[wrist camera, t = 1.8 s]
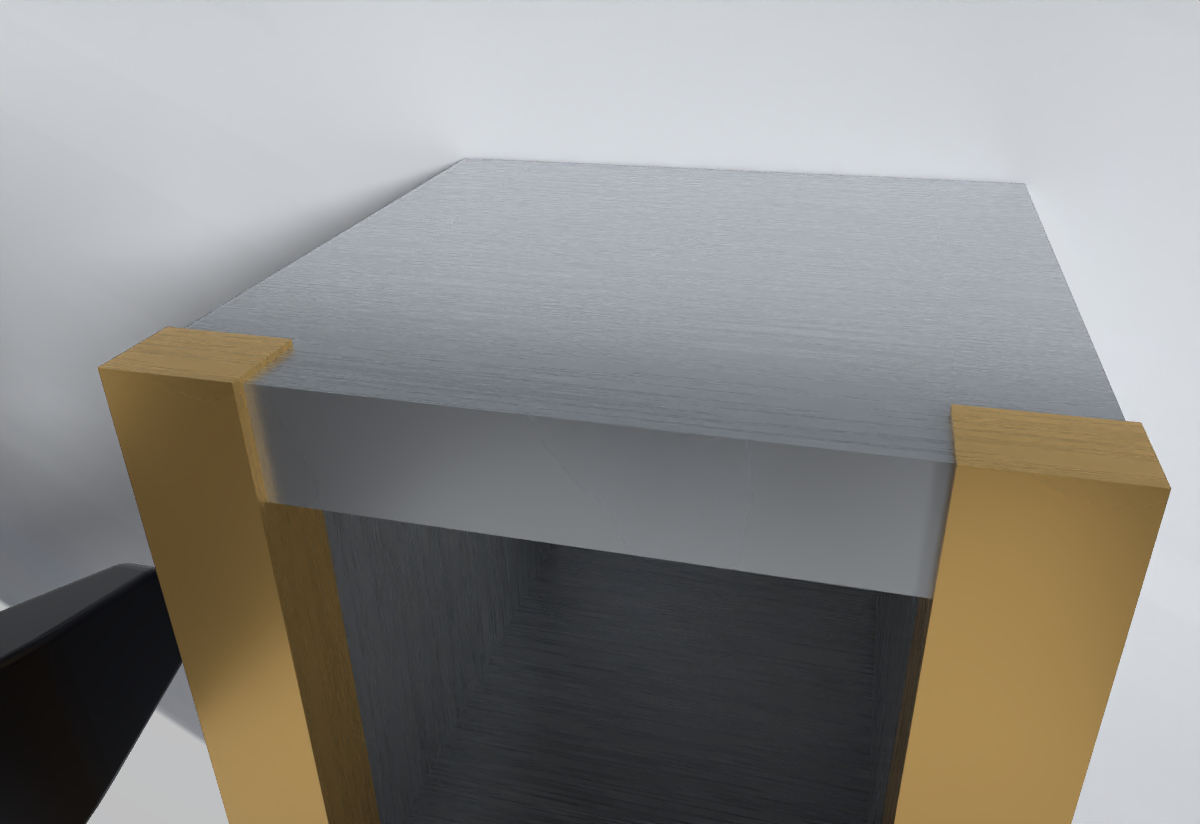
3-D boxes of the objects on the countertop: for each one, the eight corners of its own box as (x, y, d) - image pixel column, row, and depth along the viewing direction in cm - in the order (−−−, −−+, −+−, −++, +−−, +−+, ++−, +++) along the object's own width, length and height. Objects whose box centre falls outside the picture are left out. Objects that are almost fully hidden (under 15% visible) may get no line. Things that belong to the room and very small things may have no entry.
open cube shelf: (942, 651, 13) (970, 1161, 8) (497, 581, 14) (271, 967, 9) (1031, 179, 10) (1170, 489, 5) (460, 153, 12) (96, 368, 6)
